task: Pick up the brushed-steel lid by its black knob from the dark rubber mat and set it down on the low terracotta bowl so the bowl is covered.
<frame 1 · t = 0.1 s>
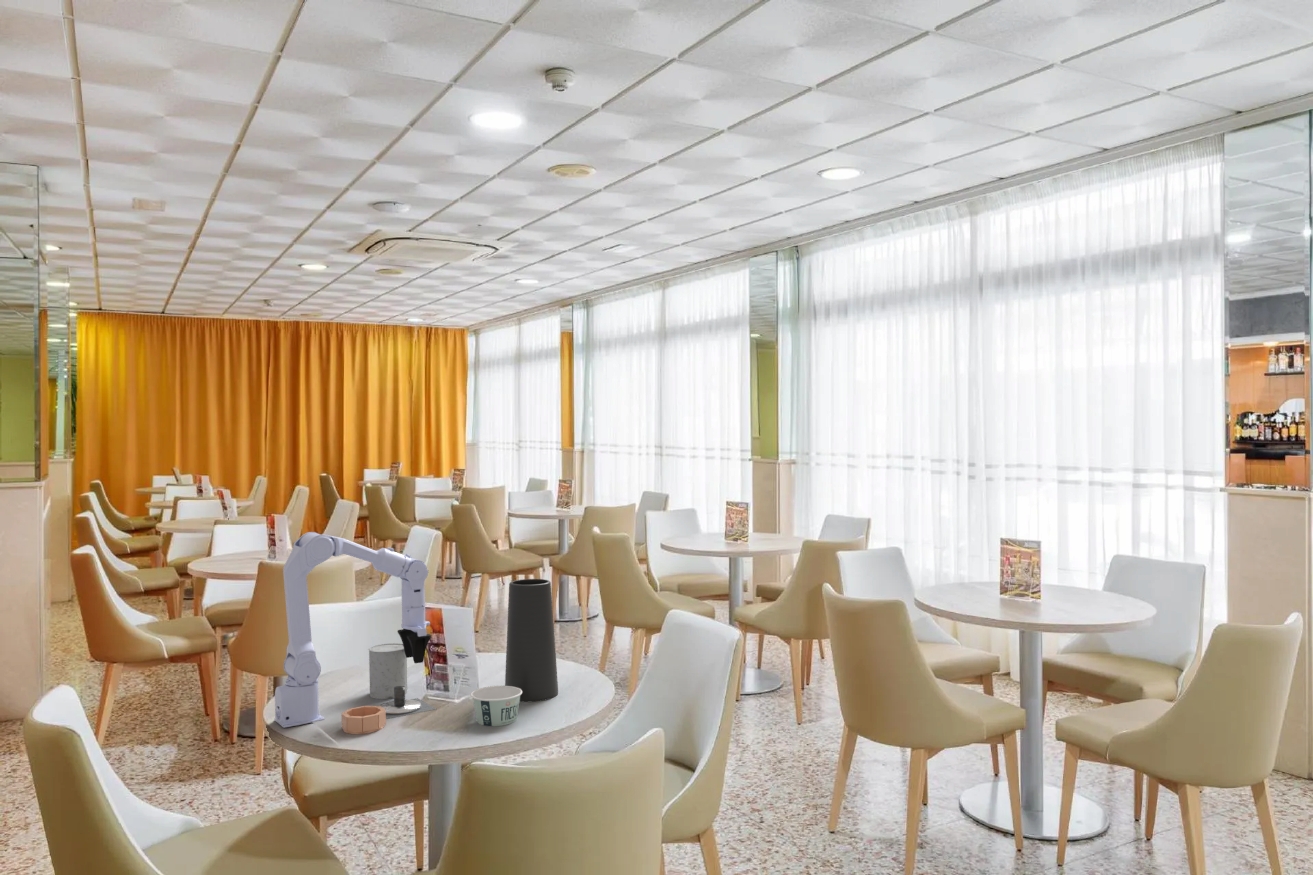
hand: (414, 659, 237), 10 cm above the table, fingers open, 6 cm apart
grey concrete cylinder: (388, 695, 242), on the table, touching gripper
mat: (399, 710, 228), on the table
lid: (399, 708, 228), resting on mat
food container: (496, 720, 220), on the table
bowl: (363, 728, 214), on the table
vase: (531, 694, 241), on the table
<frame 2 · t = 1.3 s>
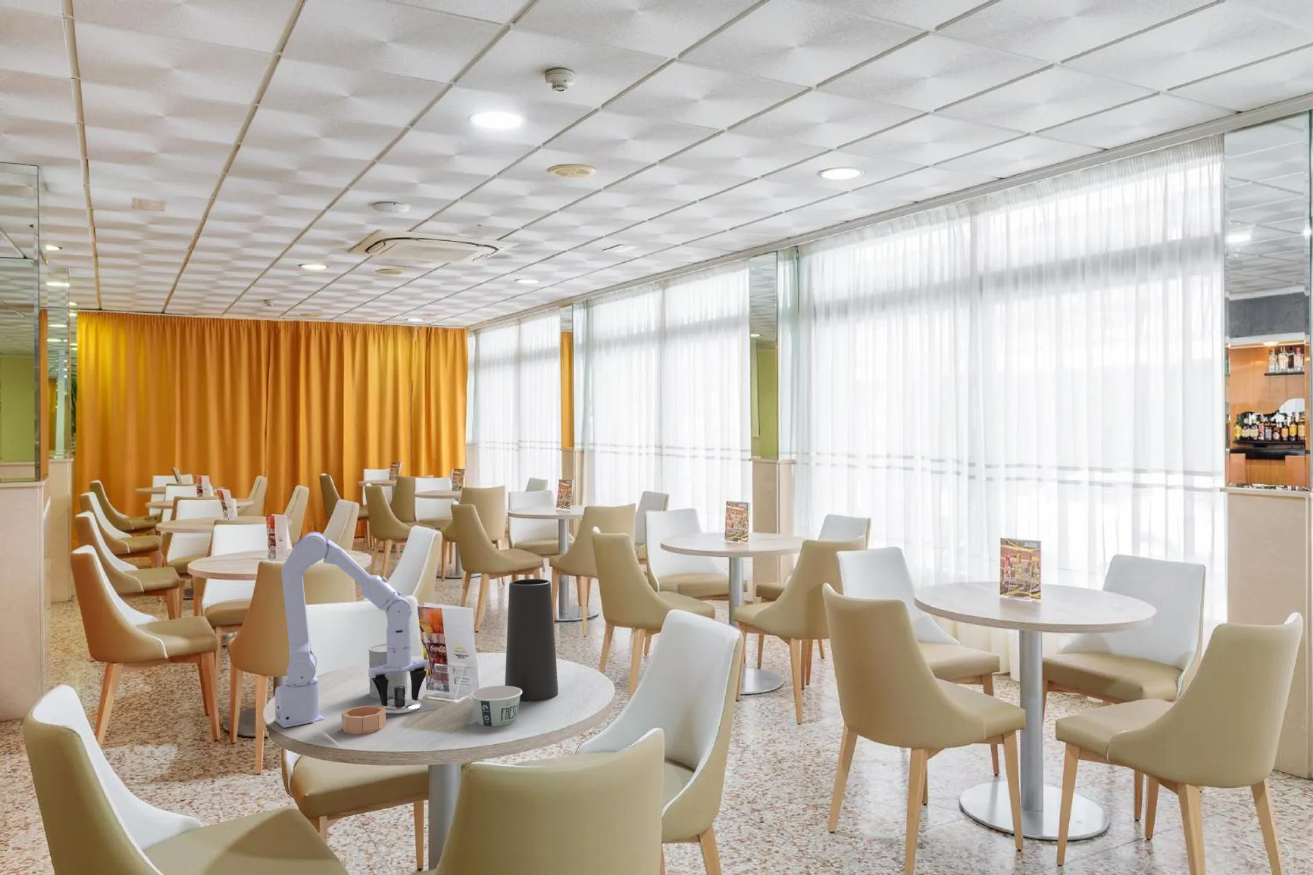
hand: (399, 702, 228), 2 cm above the table, fingers open, 7 cm apart
grey concrete cylinder: (388, 695, 242), on the table
everything else where it was.
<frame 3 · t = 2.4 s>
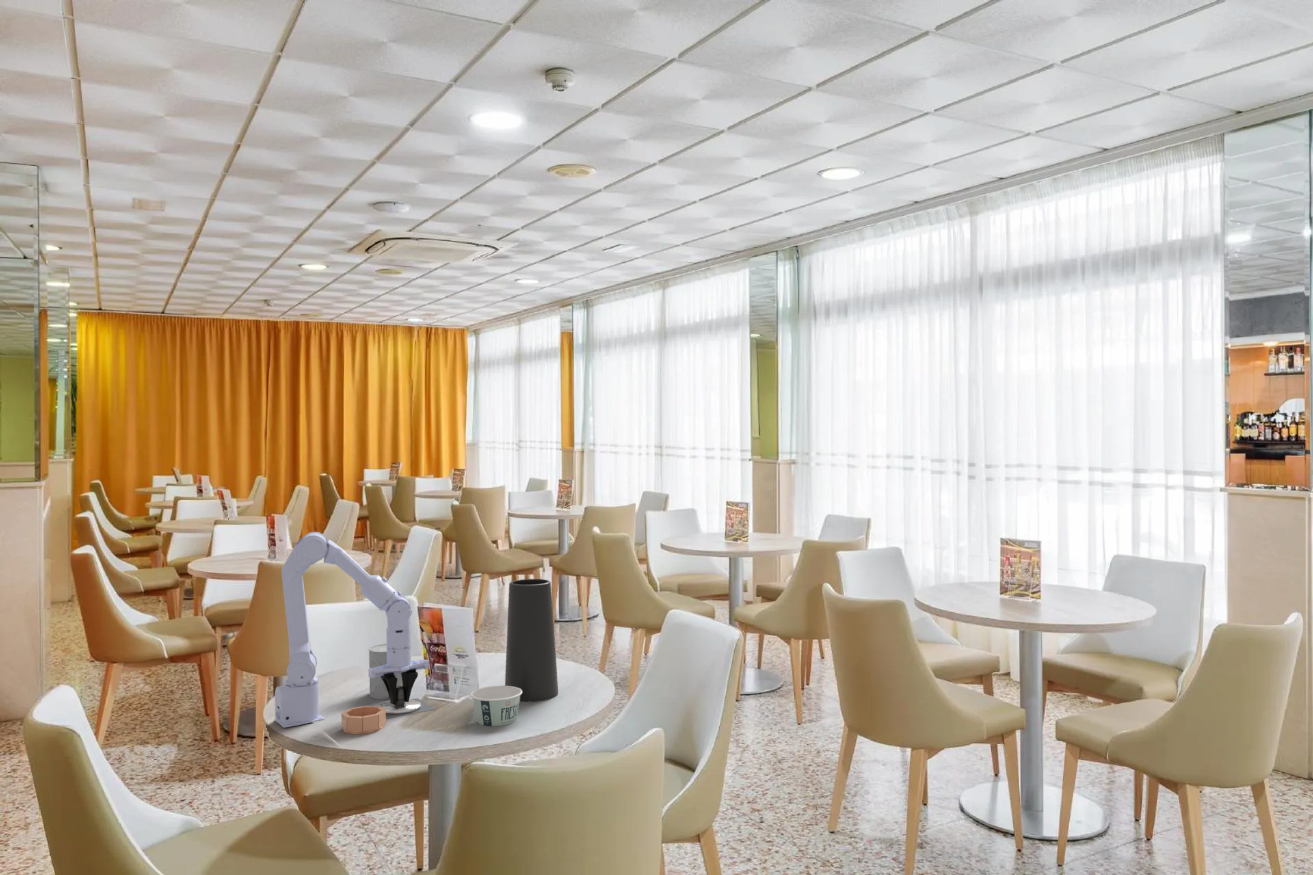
hand: (399, 702, 228), 2 cm above the table, fingers closed on lid, 3 cm apart
lid: (399, 708, 228), resting on mat, touching gripper
everything else where it was.
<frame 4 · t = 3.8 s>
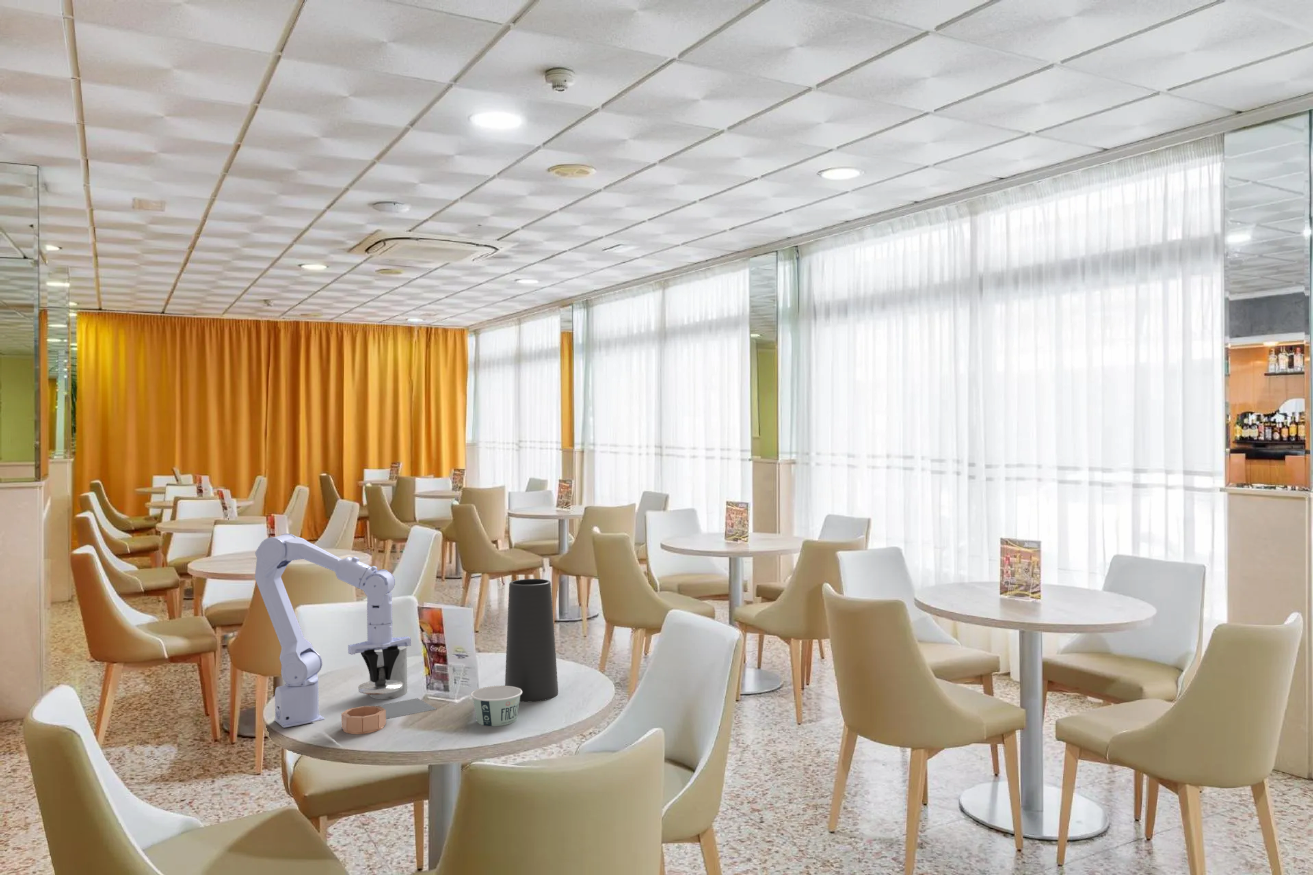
hand: (380, 680, 221), 9 cm above the table, fingers closed on lid, 3 cm apart
lid: (380, 688, 221), point 7 cm above the table, touching gripper
everything else where it was.
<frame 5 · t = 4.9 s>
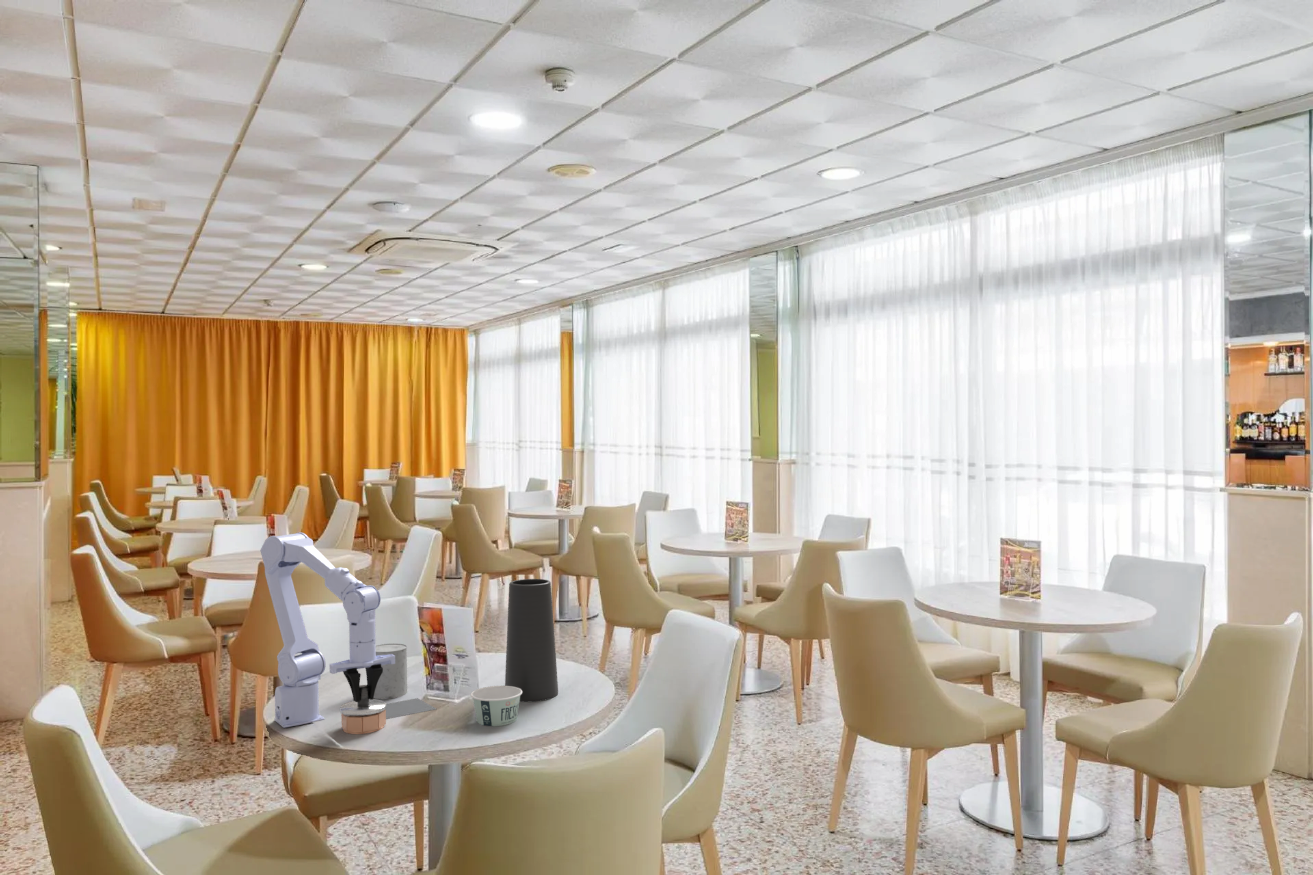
hand: (363, 699, 214), 7 cm above the table, fingers closed on lid, 3 cm apart
lid: (363, 709, 214), point 5 cm above the table, touching gripper
everything else where it was.
when the fingers open (7 cm above the table, at t = 5.4 s): lid stays where it is, resting on bowl.
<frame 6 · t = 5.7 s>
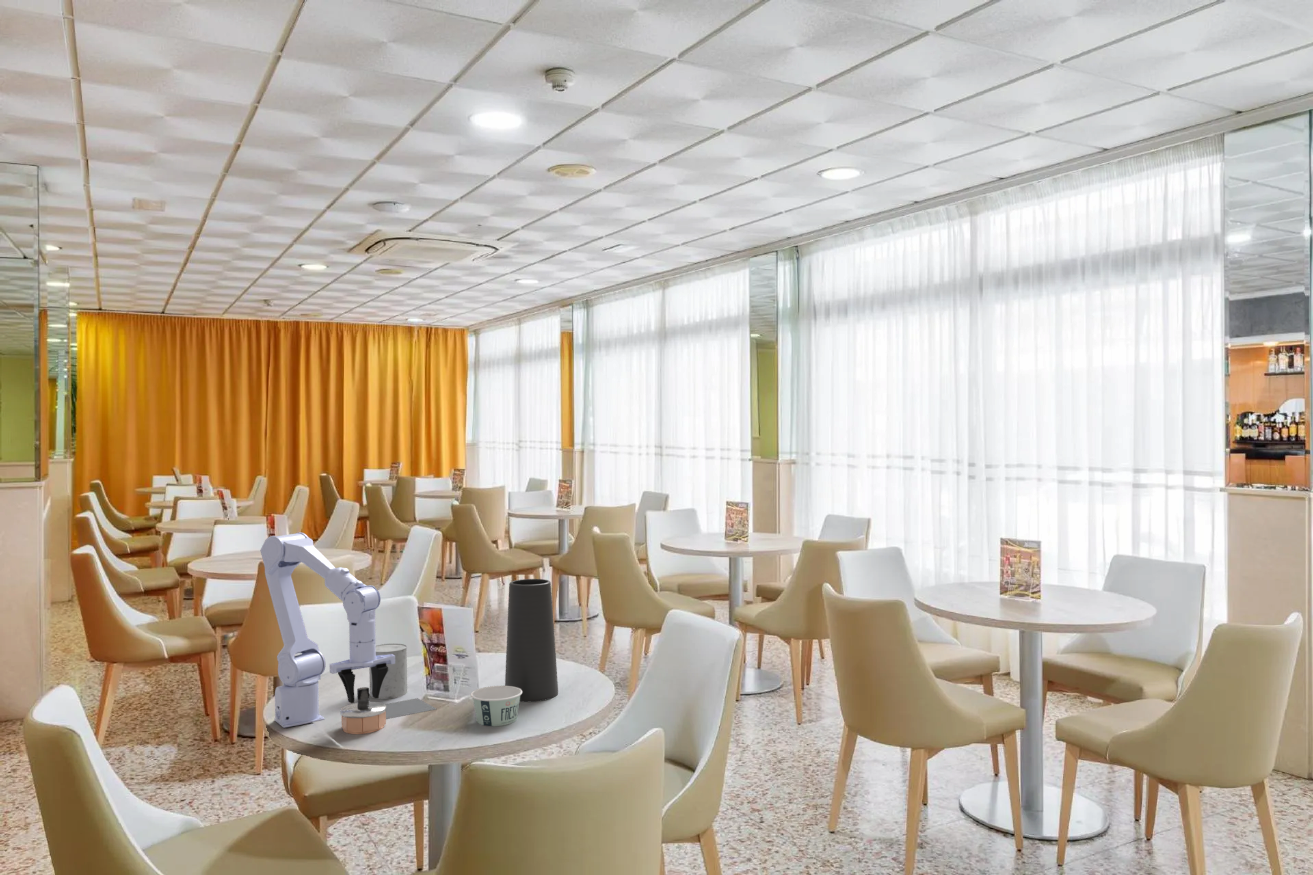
hand: (363, 699, 214), 7 cm above the table, fingers open, 5 cm apart
lid: (363, 711, 214), point 4 cm above the table, touching bowl
everything else where it was.
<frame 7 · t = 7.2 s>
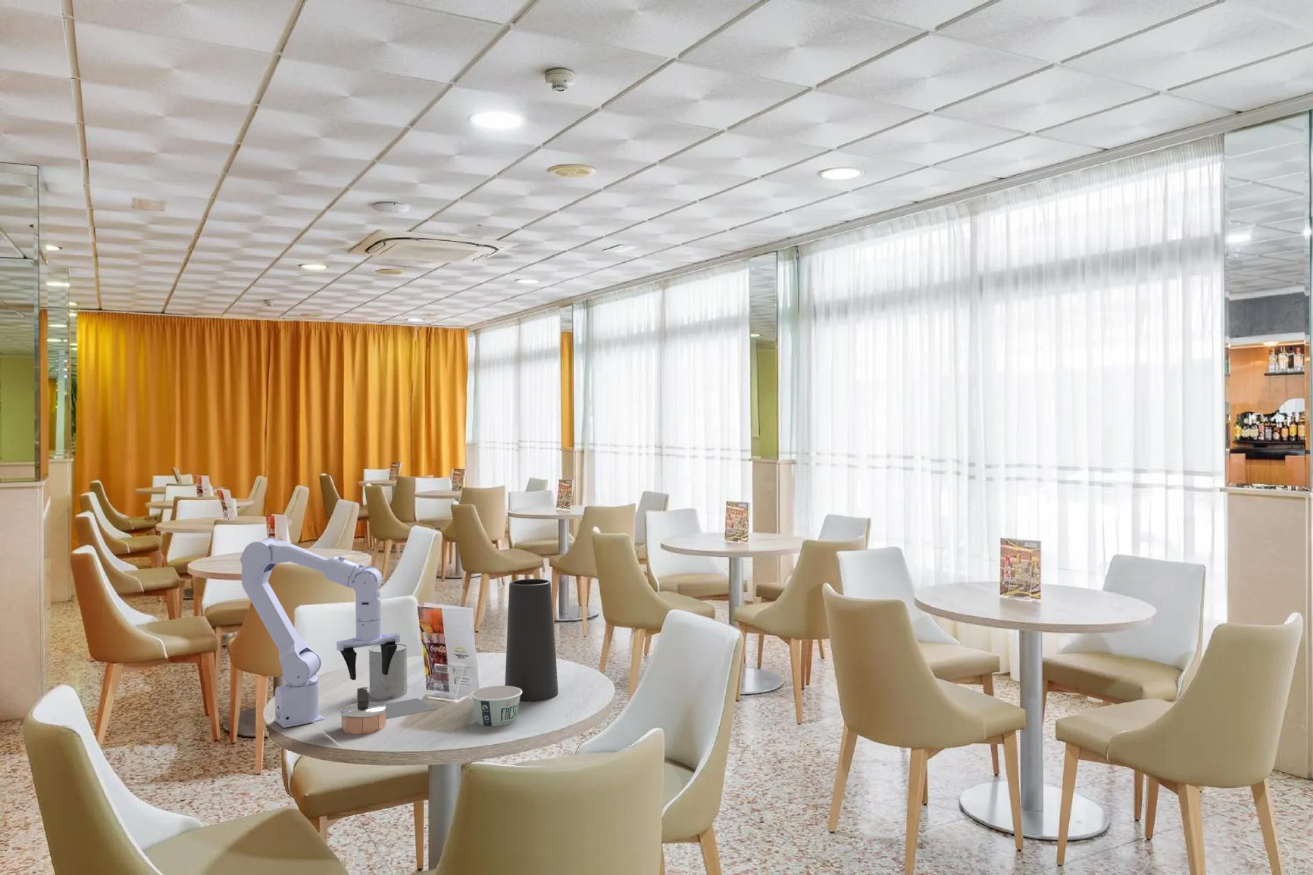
hand: (369, 676, 222), 10 cm above the table, fingers open, 7 cm apart
nothing on the table moved.
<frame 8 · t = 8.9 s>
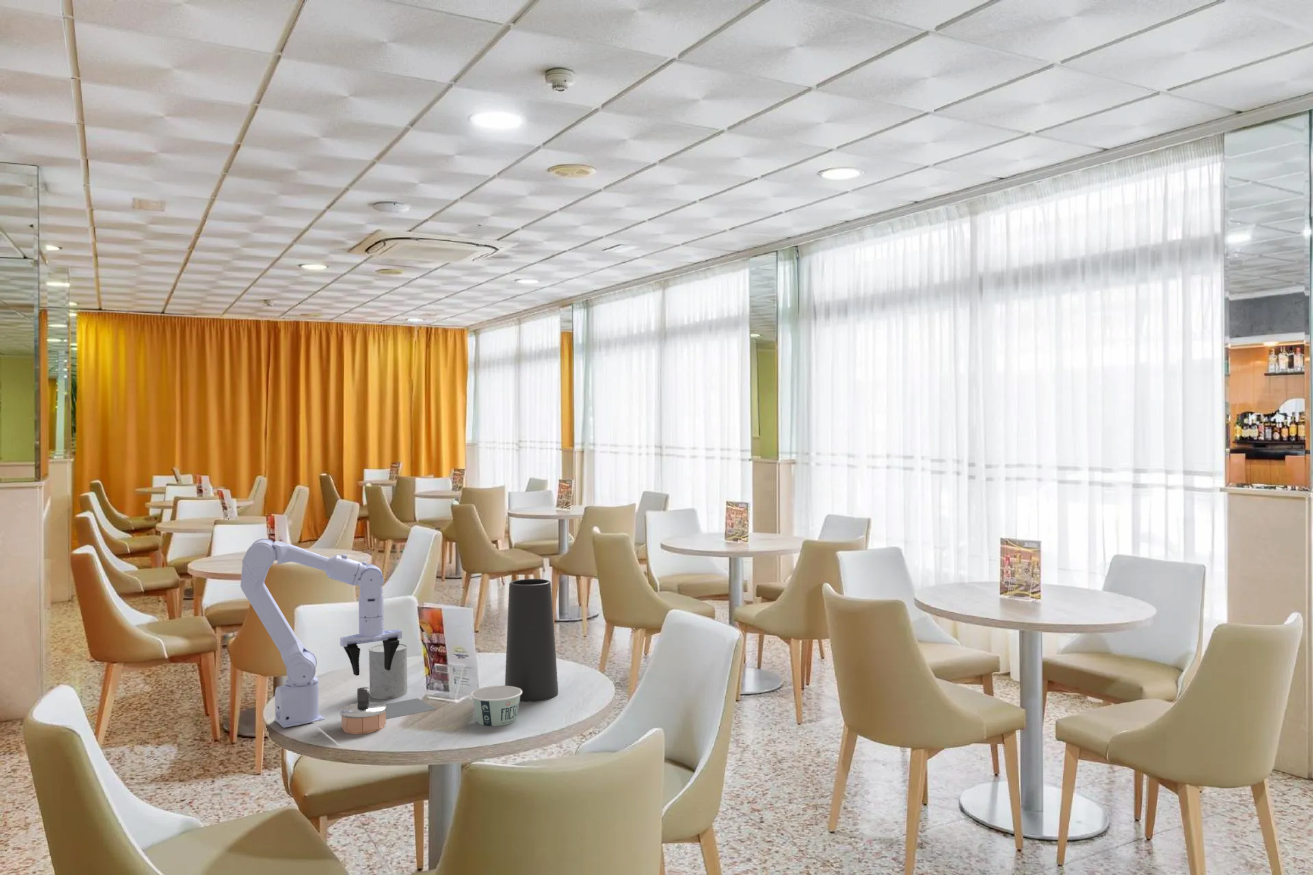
hand: (372, 672, 226), 10 cm above the table, fingers open, 7 cm apart
nothing on the table moved.
at the end: lid 0.1 cm off-centre on the bowl, point 4.0 cm above the bowl's base; lid tilted 0°; the gripper is holding nothing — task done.
